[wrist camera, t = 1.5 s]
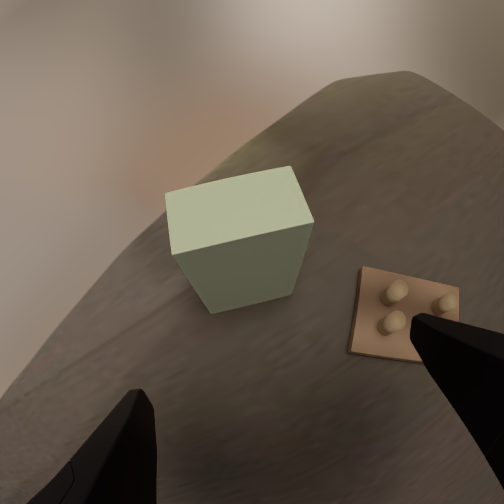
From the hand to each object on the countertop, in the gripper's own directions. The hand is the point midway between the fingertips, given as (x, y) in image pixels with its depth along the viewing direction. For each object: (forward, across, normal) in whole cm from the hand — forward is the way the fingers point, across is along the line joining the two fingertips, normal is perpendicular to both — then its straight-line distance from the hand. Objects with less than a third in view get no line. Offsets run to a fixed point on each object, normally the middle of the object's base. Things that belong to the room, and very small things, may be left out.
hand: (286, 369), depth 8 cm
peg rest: (+10, -12, +9) cm, 18 cm away
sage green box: (+15, 0, +4) cm, 15 cm away
